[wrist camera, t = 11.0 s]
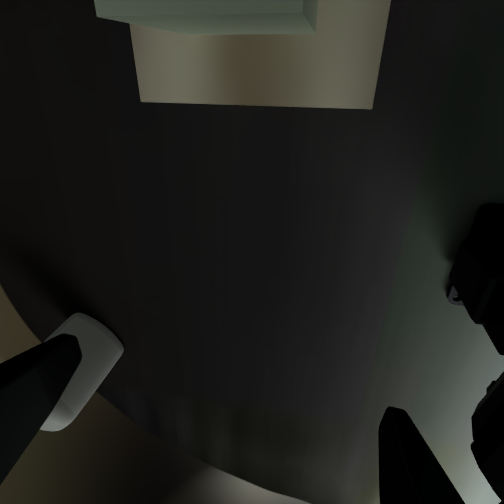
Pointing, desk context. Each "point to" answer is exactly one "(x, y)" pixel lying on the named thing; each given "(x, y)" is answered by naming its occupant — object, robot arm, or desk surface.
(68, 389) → the eye dropper bottle
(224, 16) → the sage block
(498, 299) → the robot arm
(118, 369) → the desk surface
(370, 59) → the birch block
